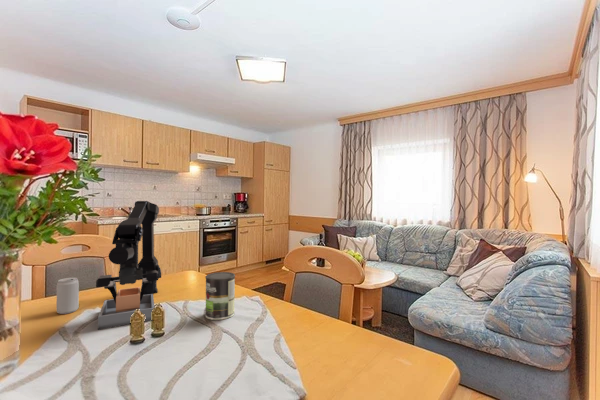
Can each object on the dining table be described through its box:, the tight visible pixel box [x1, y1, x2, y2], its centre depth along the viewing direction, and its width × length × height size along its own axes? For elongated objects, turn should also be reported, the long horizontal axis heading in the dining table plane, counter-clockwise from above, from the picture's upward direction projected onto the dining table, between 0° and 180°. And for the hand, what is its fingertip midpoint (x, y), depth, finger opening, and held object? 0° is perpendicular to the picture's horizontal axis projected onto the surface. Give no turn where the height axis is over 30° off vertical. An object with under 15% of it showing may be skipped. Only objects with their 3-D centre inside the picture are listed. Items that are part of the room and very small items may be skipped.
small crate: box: [116, 286, 141, 312], centre depth 103 cm, size 10×7×5 cm
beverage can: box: [56, 277, 80, 315], centre depth 106 cm, size 6×6×12 cm
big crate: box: [97, 293, 155, 331], centre depth 103 cm, size 18×16×4 cm
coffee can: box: [204, 271, 236, 321], centre depth 103 cm, size 10×10×14 cm
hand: (128, 302), depth 103 cm, fingers closed on small crate, 7 cm apart
